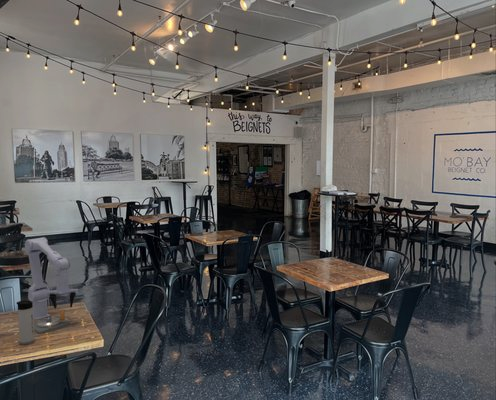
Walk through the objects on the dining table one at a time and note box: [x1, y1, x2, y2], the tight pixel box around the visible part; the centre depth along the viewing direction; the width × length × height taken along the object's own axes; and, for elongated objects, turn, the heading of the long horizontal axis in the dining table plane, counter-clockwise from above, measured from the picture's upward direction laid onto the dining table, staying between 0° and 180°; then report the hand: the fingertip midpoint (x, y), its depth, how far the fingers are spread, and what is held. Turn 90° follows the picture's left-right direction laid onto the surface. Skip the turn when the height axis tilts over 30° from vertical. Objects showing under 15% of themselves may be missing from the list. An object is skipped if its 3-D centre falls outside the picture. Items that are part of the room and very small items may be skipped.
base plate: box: [34, 315, 72, 335], centre depth 206 cm, size 16×16×3 cm
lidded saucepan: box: [37, 310, 68, 327], centre depth 206 cm, size 14×11×5 cm
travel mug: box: [16, 300, 36, 346], centre depth 185 cm, size 6×7×20 cm
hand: (63, 307), depth 206 cm, fingers open, 7 cm apart
